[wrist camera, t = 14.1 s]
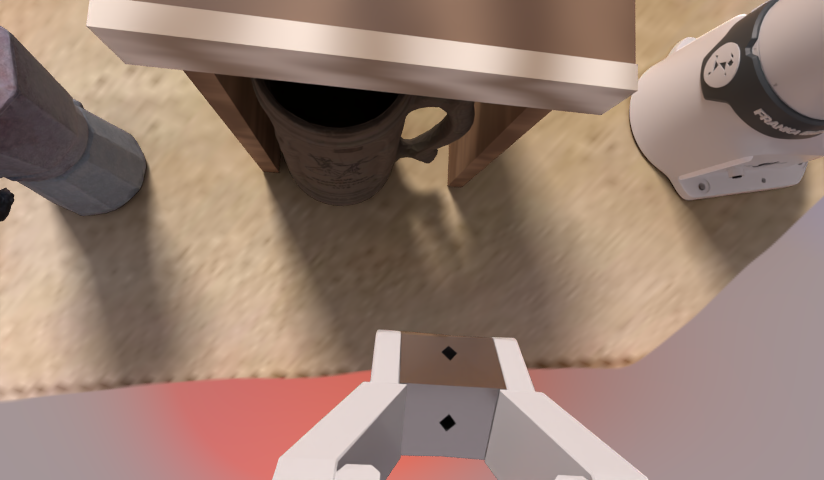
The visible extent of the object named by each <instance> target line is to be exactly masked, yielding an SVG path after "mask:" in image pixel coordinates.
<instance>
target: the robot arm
mask: <svg viewBox="0 0 824 480" xmlns="http://www.w3.org/2000/svg"><path fill="white" fill-rule="evenodd" d="M630 123H631V128H632V131H633V134H634V137H635V140H636V142H637V144H638V146H639V147H640V149H641V151H642V152H643V154H644V155H645V156H646V157H647V159H648V160H649V161H650V162H651V163H652V164H653V165H654V166H656V167H657V168H658V169H659V170H660V171H662V172H663V173H664V174H665V175H666V176H667V177H668V178H669V179H670V181H671V183H672V184H673V186H674V188H675V189H676V191H677V192H678V194H679V195H680V196H681V197H682V198H683V199H685V200H695V199H703V198H710V197H718V196H725V195H733V194H740V193H748V192H756V191H763V190H771V189H778V188H785V187H789V186H793V185H796V184H798V183H799V182H800V180H801V178H802V177H803V175H804V172H805V170H806V167H807V163H808V161H811V160H814V159H817V158H820V157H823V156H824V0H769V1H766V2H765V3H764V4H761V5H760V6H758V7H756V8H755V9H753V10H752V11H751V13H750V14H748V15H746V14H741V15H738V16H736V17H734V18H732V19H730V20H729V21H727V22H725V23H723V24H722V25H720V26H718V27H716V28H715V29H713V30H711V31H709V32H708V33H706V34H704V35H702V36H701V37H699V38H697V39H696V38H693V37H687V38H685V39H683V40H681V41H679V42H678V43H677V44H676V45H675V46H674V47H673V49H672V50H671V52H670V53H669V55H668V56H667V57H666V58H665V59H664V60H662V61H660V62H659V63H657V64H655V65H653V66H652V67H650V68H649V69H648V70H647V71H646V72H645V73H644V74H643V75H642V76H641V77H640V79H639V80H638V91H637V92H635V93H634V94H632V96H631V101H630ZM698 186H700V189H699V187H698ZM401 455H409V456H412V455H413V456H445V457H457V458H469V459H481V460H485V463H486V465H487V466H488V467H489V469H490V470H491V471H492V473H493V474H494V475H495V477H496V478H497V479H498V480H649V479H648V478H647V477H646V476H645V475H643V474H642V473H641V472H640V471H638V470H637V469H636V468H635V467H633V466H632V465H631V464H630V463H628V462H627V461H626V460H625V459H624V458H622V457H621V456H620V455H619V454H617V453H616V452H615V451H614V450H613V449H611V448H610V447H609V446H608V445H607V444H605V443H604V442H603V441H601V440H600V439H599V438H598V437H597V436H596V435H594V434H593V433H592V432H591V431H589V430H588V429H587V428H586V427H585V426H583V425H582V424H581V423H580V422H578V421H577V420H576V419H575V418H574V417H572V416H571V415H570V414H569V413H567V412H566V411H565V410H564V409H562V408H561V407H560V406H559V405H557V404H556V403H555V402H554V401H553V400H551V399H550V398H549V397H548V396H547V395H545V394H544V393H543V392H535V389H534V386H533V383H532V381H531V378H530V375H529V372H528V370H527V367H526V364H525V361H524V359H523V356H522V353H521V350H520V348H519V345H518V342H517V340H516V339H515V338H506V337H491V338H486V337H469V336H451V335H443V334H431V333H419V332H407V331H401V333H400V331H394V330H379V329H378V330H377V332H376V339H375V347H374V355H373V364H372V372H371V381H370V382H362V383H361V384H360V385H359V386H358V387H357V388H356V389H355V390H354V391H352V392H351V393H350V394H349V395H348V396H347V397H346V398H345V399H344V400H342V401H341V402H340V403H339V404H338V405H337V406H336V407H335V408H334V409H333V410H331V411H330V412H329V413H328V414H327V415H326V416H325V417H324V418H323V419H322V420H320V421H319V422H318V423H317V424H316V425H315V426H314V427H313V428H312V429H311V430H310V431H308V432H307V433H306V434H305V435H304V436H303V437H302V438H301V439H300V440H298V441H297V442H296V443H295V444H294V445H293V446H292V447H291V448H290V449H289V450H287V451H286V452H285V453H284V454H283V455H282V456H281V457H280V458H279V460H278V464H277V467H276V470H275V473H274V476H273V479H272V480H386V479H387V477H388V476H389V474H390V473H391V471H392V469H393V468H394V467H395V465H396V464H397V462H398V461H399V459H400V457H401Z"/></svg>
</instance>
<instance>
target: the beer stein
mask: <svg viewBox="0 0 824 480" xmlns="http://www.w3.org/2000/svg"><path fill="white" fill-rule="evenodd" d="M251 81H252V85H253V89H254V92H255V94H256V96H257V99H258V101H259V103H260V105H261V106H262V108H263V109H264V111H265V112H266V114H267V115H268V117H269V118H270V120H271V122H272V124H273V126H274V129H275V135H276V138H277V140H278V142H279V145H280V149H281V151H282V153H283V155H284V158H285V161H286V163H287V166H288V169H289V172H290V174H291V176H292V178H293V180H294V181H295V182H296V184H297V185H298V186H299V187H300V188H301V189H302V190H303V191H304V192H305V193H307V194H308V195H309V196H311V197H312V198H314V199H316V200H318V201H320V202H323V203H326V204H331V205H338V206H343V205H353V204H356V203H360V202H362V201H364V200H366V199H368V198H370V197H372V196H373V195H374V194H376V193H377V192H378V191H379V190H380V189H381V188H382V187H383V185H384V184H385V182H386V181H387V179H388V177H389V175H390V172H391V170H392V166H393V164H394V162H396V161H397V160H398V159H400V158H404V157H410V158H414V159H417V160H419V161H422V162H424V163H430V162H432V161H433V160H434V158H435V157H436V155H437V151H438V150H437V148H440V147H443V146H445V145H448V144H450V143H452V142H454V141H456V140H458V139H460V138H461V137H462V136H464V135H465V134H466V133H467V132H468V131H469V130H470V128H471V126H472V125H473V122H474V116H475V109H474V103H475V101H465V100H456V99H447V98H438V97H428V96H419V95H410V94H400V93H391V92H382V91H373V90H363V89H354V88H345V87H335V86H326V85H317V84H307V83H298V82H289V81H280V80H270V79H261V78H252V77H251ZM424 107H440V108H441V109H443V110H444V111H445V112H447V115H446V116H445V118H444V119H443V120H442V121H441V122H440V123H439V124H437V125H435V126H434V127H433V128H432V129H430V130H429V131H427V132H425V133H423V134H421V135H419V136H418V137H416V138H413V139H410V140H409V139H403V138H402V137H401V134H402V131H403V127H404V123H405V118H406V116H407V115H408V113H410V112H411V111H413V110H416V109H419V108H424Z"/></svg>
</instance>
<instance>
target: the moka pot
mask: <svg viewBox="0 0 824 480" xmlns="http://www.w3.org/2000/svg"><path fill="white" fill-rule="evenodd" d="M145 169H146V160H145V158H144V154H143V152H142V151H141V149H140V146H139V145H138V143H137V141H136V140H135V139H134V137H133V136H132V135H131V134H129V133H127V132H126V131H124V130H122V129H120V128H118V127H116V126H114V125H112V124H110V123H109V122H107V121H105V120H103V119H101V118H99V117H98V116H96V115H94V114H92V113H90V112H88V111H86V110H85V109H84V108H83V105H82V104H81V102H78V101H76V100H74V99H73V98H72V97H71V96H70V94H69V93H68V92H67V91H66V90H65V89H64V88H63V87H62V86H61V85H60V84H59V83H58V82H57V81H56V80H55V79H54V78H53V76H52V75H51V74H50V73H49V72H48V71H47V70H46V69H45V68H44V67H43V66H42V65H41V64H40V63H39V62H38V61H37V60H36V59H35V58H34V57H33V56H32V54H31V53H30V52H29V51H28V50H27V49H26V48H25V47H24V46H23V45H22V44H21V43H20V42H19V41H18V40H17V39H16V38H15V37H14V36H13V35H12V34H11V33H10V32H9V31H7V30H6V29H5V28H3V27H1V26H0V178H2V177H5V178H7V179H9V180H11V181H17V182H19V183H21V184H22V185H24V186H26V187H28V188H30V189H31V190H33V191H34V192H36V193H38V194H39V195H41V196H43V197H44V198H46V199H47V200H49V201H51V202H53V203H55V204H57V205H59V206H61V207H63V208H66V209H68V210H70V211H73V212H75V213H77V214H79V215H81V216H86V215H95V214H102V213H107V212H110V211H113V210H116V209H118V208H120V207H121V206H123V205H124V204H125V203H126V202H127V201H129V200H130V199H131V198H132V197H133V196H134V195H135V194H136V193H137V192H138V191H139V190H140V188H141V186H142V183H143V179H144V174H145ZM13 202H14V194H13V193H11V192H10V190H7V188H4V189H1V190H0V221H4V220H5V219H6V217H7V216H8V215H9V212H10V209H11V205H12V204H13Z"/></svg>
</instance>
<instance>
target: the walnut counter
mask: <svg viewBox="0 0 824 480" xmlns="http://www.w3.org/2000/svg"><path fill="white" fill-rule="evenodd" d="M86 26H87V27H88V28H89V29H90V30H91V31H92V32H93V33H94V34H95V35H96V36H97V37H98V38H99V39H100V40H101V41H102V42H103V43H104V44H105V45H107V46H108V47H109V48H110V49H111V50H112V51H113V52H114V53H115V54H116V55H117V56H118V57H119V58H120V59H121V60H122V61H123V62H124V63H125V64H131V65H140V66H150V67H159V68H168V69H177V70H183V71H184V72H185V73H186V75H187V76H188V77H189V78H190V80H191V81H192V82H193V84H194V85H195V86H196V87H197V89H198V90H199V91H200V92H201V94H202V95H203V96H204V97H205V99H206V100H207V101H208V102H209V104H210V105H211V106H212V107H213V109H214V110H215V111H216V113H217V114H218V115H219V116H220V118H221V119H222V120H223V121H224V123H225V124H226V125H227V126H228V128H229V129H230V130H231V131H232V133H233V134H234V135H235V136H236V138H237V139H238V140H239V142H240V143H241V144H242V145H243V147H244V148H245V149H246V150H247V152H248V153H249V154H250V155H251V157H252V158H253V159H254V160H255V162H256V163H257V164H258V166H259V167H260V168H261V169H262V171H264V172H277V173H279V166H280V154H281V149H280V145H279V142H278V140H277V138H276V135H275V129H274V126H273V124H272V122H271V120H270V118H269V117H268V115H267V114H266V112H265V111H264V109H263V108H262V106H261V105H260V103H259V101H258V99H257V96H256V94H255V92H254V89H253V85H252V81H251V77H252V78H261V79H270V80H280V81H289V82H298V83H307V84H317V85H326V86H335V87H345V88H354V89H363V90H373V91H382V92H391V93H400V94H410V95H419V96H428V97H438V98H447V99H456V100H465V101H475V103H474V109H475V116H474V122H473V125H472V126H471V128H470V130H469V131H468V132H467V133H466V134H465V135H464V136H462V137H461V138H460V139H458V140H456V141H454V142H452V143H450V144H449V163H448V186H452V187H463V186H464V185H465V184H466V183H467V182H468V181H470V180H471V179H472V178H473V177H474V176H475V175H477V174H478V173H479V172H480V171H481V170H482V169H484V168H485V167H486V166H487V165H488V164H490V163H491V162H492V161H493V160H494V159H495V158H497V157H498V156H499V155H500V154H501V153H502V152H504V151H505V150H506V149H507V148H508V147H509V146H511V145H512V144H513V143H514V142H515V141H516V140H518V139H519V138H520V137H521V136H522V135H524V134H525V133H526V132H527V131H528V130H529V129H531V128H532V127H533V126H534V125H535V124H536V123H538V122H539V121H540V120H541V119H542V118H543V117H545V116H546V115H547V114H548V113H549V112H550V111H552V110H558V111H568V112H577V113H586V114H596V115H602V114H604V113H605V112H607V111H608V110H610V109H611V108H613V107H614V106H616V105H617V104H619V103H620V102H622V101H623V100H625V99H626V98H628V97H629V96H631V95H632V94H634V93H635V92H637V91H638V64H636V60H635V0H90V2H89V9H88V17H87V24H86Z"/></svg>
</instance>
